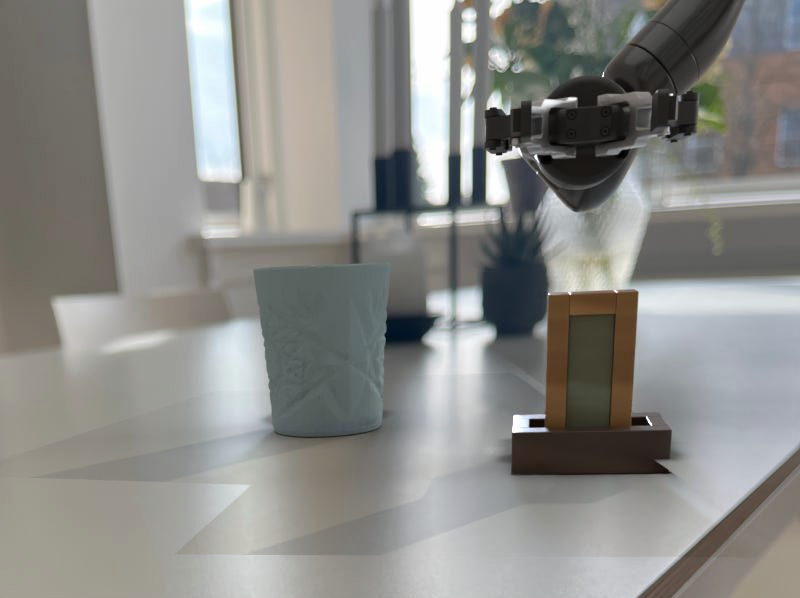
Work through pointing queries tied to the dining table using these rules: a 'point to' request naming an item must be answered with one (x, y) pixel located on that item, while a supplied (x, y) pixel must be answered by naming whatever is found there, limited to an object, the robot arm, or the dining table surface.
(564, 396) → the frame
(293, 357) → the pale blue-green cup
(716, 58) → the robot arm
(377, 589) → the dining table surface
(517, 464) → the holder
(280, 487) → the dining table surface
